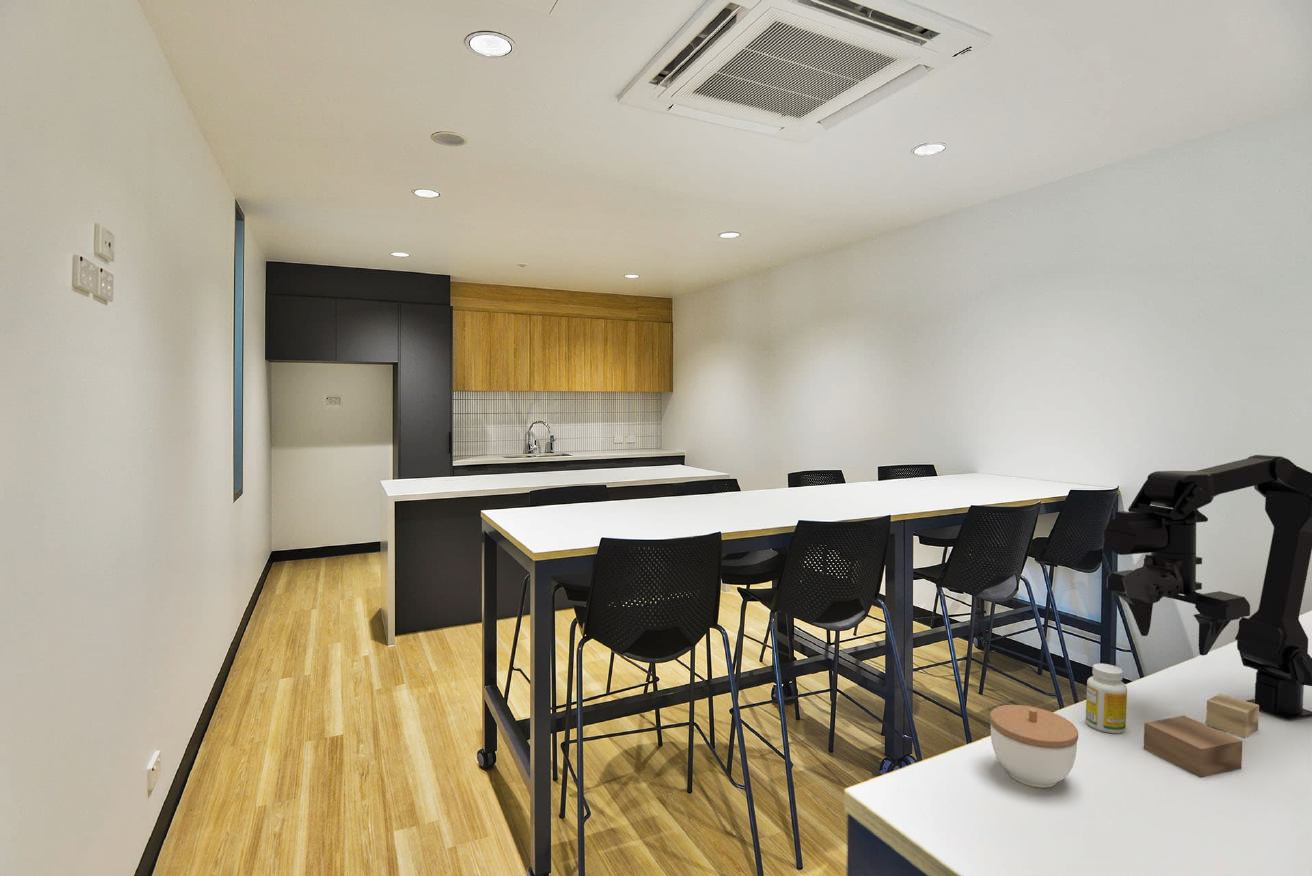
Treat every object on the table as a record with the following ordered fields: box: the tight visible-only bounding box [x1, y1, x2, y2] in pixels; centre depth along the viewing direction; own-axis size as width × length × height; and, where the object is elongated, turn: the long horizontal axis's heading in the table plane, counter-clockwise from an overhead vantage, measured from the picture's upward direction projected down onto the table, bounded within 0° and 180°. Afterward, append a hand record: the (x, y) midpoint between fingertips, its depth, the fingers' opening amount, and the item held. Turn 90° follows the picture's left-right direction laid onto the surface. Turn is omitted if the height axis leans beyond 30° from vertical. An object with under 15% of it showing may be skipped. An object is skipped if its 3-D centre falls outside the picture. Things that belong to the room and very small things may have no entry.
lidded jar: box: [989, 704, 1079, 789], centre depth 92 cm, size 11×11×9 cm
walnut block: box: [1143, 715, 1243, 778], centre depth 97 cm, size 8×8×4 cm
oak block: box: [1205, 693, 1260, 739], centre depth 106 cm, size 5×5×4 cm
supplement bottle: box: [1085, 663, 1128, 734], centre depth 106 cm, size 5×5×10 cm
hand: (1172, 644), depth 107 cm, fingers open, 9 cm apart
